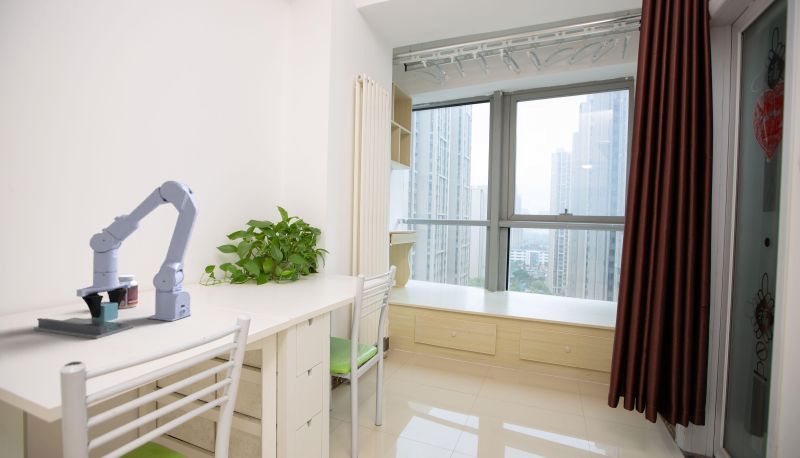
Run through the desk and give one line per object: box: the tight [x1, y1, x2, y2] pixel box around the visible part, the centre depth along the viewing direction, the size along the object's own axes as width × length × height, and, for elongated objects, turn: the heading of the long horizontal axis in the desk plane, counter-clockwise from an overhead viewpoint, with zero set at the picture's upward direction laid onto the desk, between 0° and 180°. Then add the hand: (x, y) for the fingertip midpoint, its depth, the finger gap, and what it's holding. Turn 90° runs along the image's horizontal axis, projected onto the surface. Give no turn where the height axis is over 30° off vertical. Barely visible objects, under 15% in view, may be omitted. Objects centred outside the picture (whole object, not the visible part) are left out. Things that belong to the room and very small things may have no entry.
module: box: [91, 301, 119, 322], centre depth 108 cm, size 5×4×5 cm
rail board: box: [33, 317, 134, 340], centre depth 98 cm, size 22×10×3 cm, turn 78°
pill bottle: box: [117, 274, 139, 309], centre depth 122 cm, size 6×6×11 cm
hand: (104, 314), depth 107 cm, fingers open, 5 cm apart
